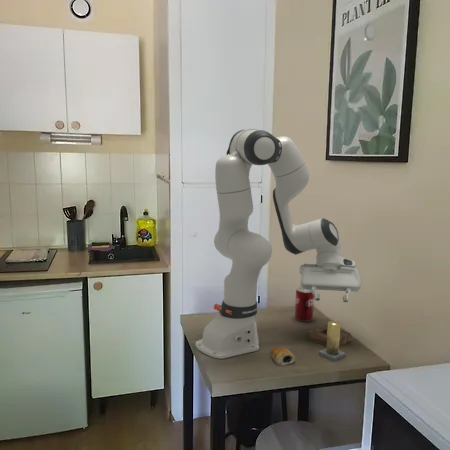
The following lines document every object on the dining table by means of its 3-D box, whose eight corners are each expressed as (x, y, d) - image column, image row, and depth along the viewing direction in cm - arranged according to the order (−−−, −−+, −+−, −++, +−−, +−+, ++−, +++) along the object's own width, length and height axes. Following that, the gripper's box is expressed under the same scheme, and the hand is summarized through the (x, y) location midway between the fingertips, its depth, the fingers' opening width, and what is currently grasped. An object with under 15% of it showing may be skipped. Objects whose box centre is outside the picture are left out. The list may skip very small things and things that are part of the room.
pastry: (265, 353, 144) (265, 342, 143) (283, 351, 146) (284, 340, 146) (277, 367, 135) (278, 355, 135) (297, 364, 137) (298, 352, 137)
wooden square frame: (333, 349, 148) (333, 340, 148) (309, 339, 155) (309, 331, 155) (350, 341, 154) (350, 333, 154) (326, 332, 162) (327, 324, 161)
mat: (334, 361, 139) (334, 358, 139) (318, 354, 144) (319, 351, 144) (345, 356, 143) (345, 353, 143) (329, 349, 148) (330, 346, 148)
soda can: (291, 319, 173) (293, 290, 172) (297, 314, 180) (299, 285, 178) (309, 323, 170) (311, 293, 168) (315, 317, 177) (317, 288, 175)
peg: (333, 356, 141) (335, 326, 139) (323, 351, 144) (325, 322, 142) (341, 352, 143) (343, 323, 142) (330, 348, 146) (332, 319, 145)
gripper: (300, 258, 154) (301, 294, 146) (360, 261, 153) (364, 298, 145) (298, 268, 159) (299, 303, 151) (356, 271, 158) (360, 306, 150)
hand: (331, 300), depth 148 cm, fingers open, 8 cm apart
